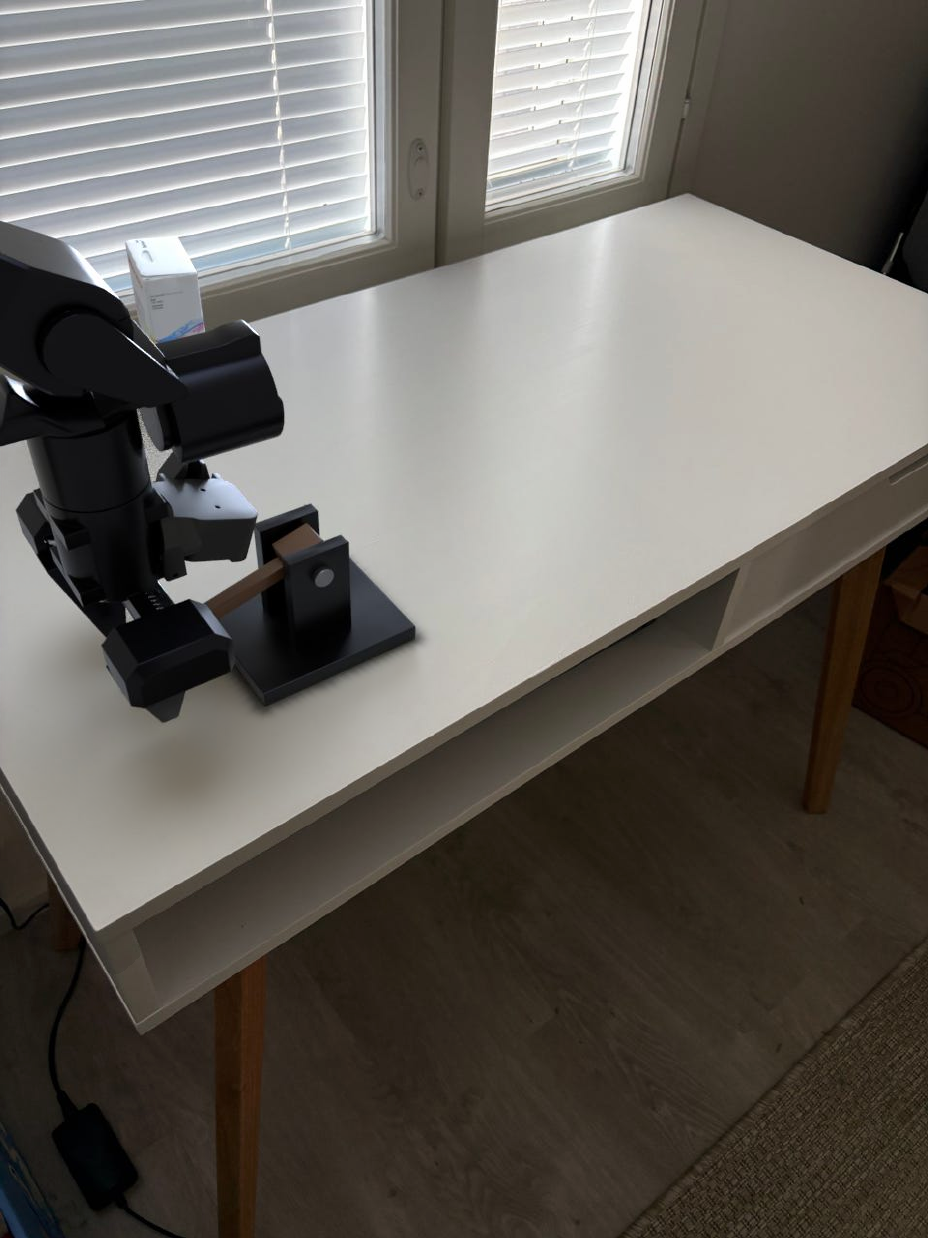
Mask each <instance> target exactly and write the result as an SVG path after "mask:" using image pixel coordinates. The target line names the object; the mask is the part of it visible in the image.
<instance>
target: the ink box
mask: <svg viewBox="0 0 928 1238" xmlns="http://www.w3.org/2000/svg"><path fill="white" fill-rule="evenodd" d="M124 245H125V246H124V247H125V253H126V256H127V262H128V270H129V273H130V280H131V285H132V292H133V297H134V303H135V309H136V313H137V320H138V326H139V327H140V328H141V329H142V331H143V332H144V333H145V334H146V335H147V336H148V337H149V339H150V340H151V341H152V342H153V343H154V344H157V343H161V342H166V341H170V340H174V339H178V338H182V337H187V336H191V335H195V334H199V333H203V332H206V330H205V322H204V321H205V320H204V315H203V306H202V305H203V304H202V300H201V299H202V298H201V297H202V296H201V292H200V283H199V278H198V277H199V275H198V272H197V270H196V268H195V266H194V264H193V263H192V261H191V259H190V257H189V255H188V253H187V252H186V250H185V248H184V247H183V244H182V243H181V241H180V239H179V237H178V236H177V235H173V236H161V237H158V236H157V237H144V238H133V239H132V238H131V239H127V240H126V241H124Z"/></svg>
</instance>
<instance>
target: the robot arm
mask: <svg viewBox="0 0 928 1238" xmlns="http://www.w3.org/2000/svg"><path fill="white" fill-rule="evenodd" d="M262 352H263V351H262V342H261V336H260V335H259V334H258V333H257V332H256V331H255V330H254V329H253V328H252V327H251V326H250V325H249V324H248V323H247V322H246V321H245V320H243V319H238V320H235V321H230V322H227V323H223V324H221V325H219V326H217V327H215V328H212V329H210V330H207V331H205V332H203V333H199V334H195V335H191V336H187V337H182V338H178V339H174V340H170V341H166V342H161V343H157V344H154V343H153V342H152V341H151V340H150V339H149V337H148V336H147V335H146V334H145V333H144V332H143V331H142V329H141V328H140V326H139V324H138V323H137V322H136V321H135V320H134V319H132V318H131V315H130V310H129V308H128V307H127V306H126V305H125V304H124V303H123V301H122V300H121V299H120V297H119V296H118V294H116V293H115V292H114V291H113V290H112V288H111V286H110V285H108V284H107V282H105V280H104V279H103V278H102V276H100V275H99V273H98V272H97V271H96V270H95V269H94V268H93V266H91V264H90V263H89V262H88V261H87V260H86V259H85V257H84V256H83V255H82V254H81V253H80V252H79V251H78V250H77V249H76V248H74V247H72V245H70V244H69V243H67V242H66V241H63V240H61V239H58V238H56V237H53V236H50V235H47V234H44V233H41V232H38V231H34V230H31V229H27V228H26V227H22V226H19V225H15V224H12V223H9V222H6V221H3V220H0V368H1V369H3V370H5V371H7V372H8V373H10V374H11V375H13V376H15V377H17V378H18V379H19V380H21V381H19V380H18V381H17V380H14V379H12V378H11V377H9V376H7V375H6V374H3V373H0V448H1V447H5V446H8V445H12V444H17V443H20V442H24V441H25V442H26V444H27V448H28V452H29V455H30V458H31V461H32V465H33V469H34V472H35V476H36V480H37V483H38V486H39V488H36V489H32V492H28V493H26V494H25V495H24V496H23V498H22V500H21V501H20V503H19V504H18V506H17V507H16V509H15V513H16V516H17V520H18V522H19V526H20V530H21V532H22V535H23V536H24V538H25V539H26V541H27V542H28V544H29V546H30V547H31V548H32V550H33V552H34V554H35V556H36V557H37V559H38V560H39V563H40V564H41V565H42V567H43V568H44V570H45V572H46V573H47V575H48V576H49V577H50V578H51V579H52V581H53V582H54V583H55V584H56V586H58V587H59V588H60V589H61V591H62V592H63V593H64V594H66V596H67V597H68V598H69V599H70V600H71V601H72V602H73V603H74V604H75V606H76V607H77V608H78V609H79V610H80V611H81V613H83V615H85V617H86V618H87V619H88V620H89V621H90V622H91V623H92V624H93V626H94V627H95V628H96V629H97V630H98V631H99V632H100V633H101V634H102V635H103V636H104V638H105V640H104V641H103V642H102V644H100V646H101V650H102V654H103V657H104V658H103V659H104V660H105V662H106V666H105V668H106V669H107V671H108V673H109V674H110V676H111V678H112V679H113V681H114V683H115V684H116V686H117V687H118V689H119V691H120V692H121V693H122V695H123V696H124V697H125V700H126V701H127V702H128V704H129V706H130V707H131V708H132V707H133V708H139V709H144V710H146V711H148V713H150V715H152V716H154V717H155V718H156V719H157V720H158V721H159V722H160V723H162V724H165V723H168V722H171V721H172V720H175V719H177V718H179V716H180V712H181V709H182V706H183V703H184V700H185V696H186V692H188V691H190V690H192V689H194V688H197V687H200V686H201V685H203V684H206V683H208V682H210V681H213V680H215V679H218V678H220V677H222V676H225V675H227V674H229V673H231V672H232V670H233V668H234V667H235V665H234V664H235V655H234V648H233V641H232V638H231V637H230V636H229V634H228V633H227V632H226V630H225V629H224V628H223V626H222V625H221V624H220V622H219V621H218V620H217V618H216V617H215V616H214V615H213V613H212V612H211V611H210V609H209V608H208V607H207V605H205V604H203V603H204V602H203V603H202V602H200V601H197V600H194V599H192V598H188V599H184V600H182V601H179V602H177V603H175V602H174V601H173V599H172V598H171V597H170V595H169V593H168V592H167V591H166V590H165V588H164V587H163V586H162V584H161V583H160V582H159V580H162V579H164V580H165V581H166V582H168V583H169V582H172V581H175V580H178V579H180V578H183V577H186V576H188V571H187V566H186V562H189V563H200V562H202V563H203V562H216V561H229V562H230V563H239V562H243V561H245V560H246V559H247V558H248V554H249V550H250V547H251V542H252V539H253V536H254V528H255V524H256V523H257V520H258V516H259V513H258V511H257V509H256V508H255V507H254V505H252V504H251V502H250V501H249V500H248V499H247V498H246V497H245V496H244V495H243V493H242V492H241V491H240V490H239V489H238V488H237V487H236V486H235V485H234V484H233V483H231V482H230V481H227V480H224V479H223V478H222V477H221V476H220V474H219V473H217V472H212V473H211V476H210V473H209V470H208V467H207V465H206V463H205V461H204V460H205V459H209V458H212V457H216V456H218V455H222V454H225V453H228V452H231V451H235V450H239V449H242V448H245V447H248V446H253V445H256V444H259V443H261V442H265V441H269V440H271V439H275V438H279V437H280V436H281V435H282V434H283V432H284V429H285V424H286V423H285V421H286V420H285V419H286V417H285V405H284V401H283V399H282V397H281V396H280V395H279V392H278V389H277V385H276V381H275V378H274V376H273V374H272V371H271V369H270V366H269V364H268V362H267V361H266V358H265V355H263V353H262ZM138 411H139V413H140V417H141V420H142V422H143V426H144V428H145V429H144V430H145V431H146V433H147V436H148V437H149V439H150V441H151V443H152V444H153V446H154V448H155V449H156V450H157V451H158V452H161V453H162V452H166V451H168V450H169V451H170V450H171V453H169V456H168V457H167V458H166V460H165V461H164V462H163V464H162V465H161V466H160V468H159V469H158V470H157V473H156V477H155V480H154V481H152V480H151V473H150V469H149V465H148V464H149V463H148V459H147V454H146V449H145V444H144V443H145V442H144V439H143V434H142V429H141V423H140V418H139V413H138ZM127 612H128V613H129V615H130V617H131V618H132V620H130V621H127Z"/></svg>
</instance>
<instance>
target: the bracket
mask: <svg viewBox="0 0 928 1238" xmlns="http://www.w3.org/2000/svg"><path fill="white" fill-rule="evenodd" d="M319 517H320V515H319V510H318V508H316V506H315V505H314V504H313V503H308V504H305V505H302V506H299V507H297V508H294V509H291V510H289V511H285V512H282V513H279V514H277V515H274V516H272V517H269V518H266V519H263V520H261V521H256V524H255V528H254V532H253V536H254V543H255V551H256V560H257V569H259V568H260V567H262V566H264V565H265V564H267V563H268V562H270V561H272V560H273V559H275V558H276V557H277V555H276V553H275V550H274V548H273V546H272V544H273V543H275V542H276V541H278V540H280V539H281V538H283V537H285V536H286V535H288V534H289V533H291V532H293V531H294V530H296V529H297V528H299V527H301V526H302V525H304V524H306V523H307V524H308V525H309V526H310V527H311V528H312V529H313V530H314V531H315V532H316V533H317V534H318V535H319V536H320V537H321V534H320V518H319ZM282 560H283V571H284V578H283V579H282V580H280V581H278V582H277V583H275V584H274V585H272V586H270V587H269V588H267V589H266V590H264V591H263V592H261V593H259V594H258V595H256V596H255V597H253V598H251V599H250V600H248V601H247V602H245V603H244V604H242V605H240V606H239V607H237V608H236V609H234V610H232V611H231V612H229V613H228V614H226V615H225V616H223V617H221V618H220V619H218V621H219V622H220V624H221V625H222V626H223V628H224V629H225V630H226V632H227V633H228V634H229V636H230V637H231V638H232V641H233V648H234V655H235V664H234V667H236V669H237V670H238V671H239V673H240V675H242V677H243V678H244V679H245V681H246V682H247V683H248V685H249V686H250V688H251V690H253V692H254V693H255V694H256V695H257V697H258V699H259V700H260V701H261V702H262V704H263V705H264V706H268V705H271V704H273V703H275V702H278V701H280V700H283V699H284V698H286V697H288V696H290V695H293V694H296V693H297V692H299V691H301V690H304V689H307V688H308V687H310V686H313V685H315V684H317V683H319V682H321V681H324V680H326V679H329V678H331V677H333V676H336V675H338V674H339V673H342V672H344V671H346V670H349V669H350V668H352V667H355V666H357V665H358V664H361V663H363V662H365V661H368V660H370V659H372V658H374V657H377V656H379V655H381V654H383V653H385V652H388V651H390V650H392V649H395V648H396V647H399V646H401V645H403V644H406V643H408V642H410V641H412V640H414V639H416V631H417V630H416V625H415V624H414V623H413V622H412V621H411V620H410V619H409V618H408V617H407V616H406V614H404V612H403V611H401V609H400V608H399V607H398V606H396V604H395V603H394V602H393V601H392V600H391V599H390V598H389V597H388V596H387V595H386V594H385V592H383V591H382V589H381V588H380V587H379V586H378V585H377V584H376V583H375V582H374V581H373V580H372V579H371V578H370V576H368V575H367V573H365V572H364V571H363V569H362V568H361V567H360V566H359V565H358V564H357V563H356V562H355V561H354V560H353V559H352V558H351V557H350V543H349V541H348V540H347V539H346V537H345V536H344V535H343V534H338V535H336V536H333V537H331V538H330V537H329V538H328V539H326V540H323V541H322V542H320V543H317V544H315V545H312V546H309V547H307V548H304V549H302V550H299V551H296V552H294V553H291V554H288V555H286V556H283V557H282Z"/></svg>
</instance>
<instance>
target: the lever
mask: <svg viewBox="0 0 928 1238" xmlns="http://www.w3.org/2000/svg"><path fill="white" fill-rule="evenodd" d="M322 541H324V540H323V539H322V537H321V535H320V536H319V535H318V534H317V533H316V532H315V531H314V530H313V529H312V528H311V527H310V526H309V525H308V524H307V523H306V524H304V525H302V526H301V527H299V528H297V529H296V530H294V531H293V532H291V533H289V534H288V535H286V536H285V537H283V538H281V539H280V540H278V541H276V542H275V543H273V544H272V546H273V548H274V550H275V553H276V555H277V557H276V558H275V559H273V560H272V561H270V562H268V563H267V564H265V565H264V566H262V567H260V568H259V569H258V568H257V569H256V570H254V571H253V572H251V573H249V574H247V575H246V576H244V577H243V578H241V579H240V580H238V581H237V582H235V583H233V584H232V585H230V586H228V587H227V588H224V590H222V591H220V592H219V593H217V594H215V595H214V596H212V597H210V598H209V599H207V600H206V601H204V602H203V604H205V605H207V607H208V608H209V609H210V611H211V612H212V613H213V615H214V616H215V617H216V618H217V620H218V619H220V618H221V617H223V616H225V615H226V614H228V613H229V612H231V611H232V610H234V609H236V608H237V607H239V606H240V605H242V604H244V603H245V602H247V601H248V600H250V599H251V598H253V597H255V596H256V595H258V594H259V593H261V592H263V591H264V590H266V589H267V588H269V587H270V586H272V585H274V584H275V583H277V582H278V581H280V580H282V579H283V578H284V571H283V560H282V557H283V556H286V555H288V554H291V553H294V552H296V551H299V550H302V549H304V548H307V547H309V546H312V545H315V544H317V543H320V542H322Z"/></svg>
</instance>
